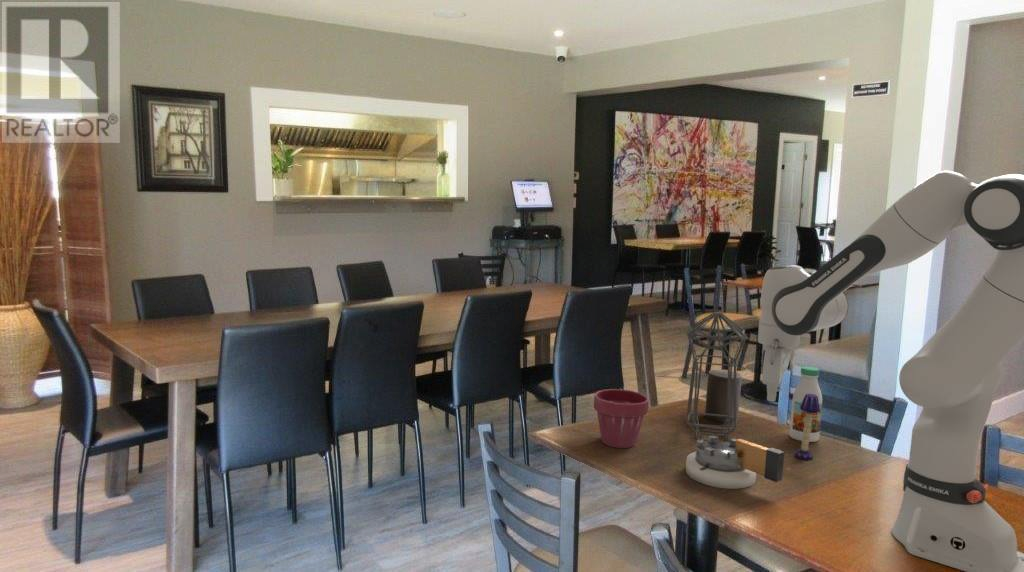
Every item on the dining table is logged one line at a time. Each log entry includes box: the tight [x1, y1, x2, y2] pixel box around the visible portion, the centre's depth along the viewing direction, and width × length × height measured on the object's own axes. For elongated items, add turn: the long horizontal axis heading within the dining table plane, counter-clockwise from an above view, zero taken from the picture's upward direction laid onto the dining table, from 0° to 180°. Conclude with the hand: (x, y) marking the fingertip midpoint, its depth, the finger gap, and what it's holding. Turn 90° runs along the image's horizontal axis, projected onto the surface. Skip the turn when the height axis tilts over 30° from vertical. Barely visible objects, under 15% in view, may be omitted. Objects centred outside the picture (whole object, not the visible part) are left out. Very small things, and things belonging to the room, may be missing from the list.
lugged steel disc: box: [695, 435, 785, 483], centre depth 162 cm, size 21×12×7 cm, turn 39°
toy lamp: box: [794, 394, 820, 461], centre depth 178 cm, size 5×5×17 cm
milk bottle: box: [789, 366, 823, 443], centre depth 193 cm, size 8×8×20 cm
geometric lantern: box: [685, 311, 749, 442], centre depth 191 cm, size 16×16×35 cm
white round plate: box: [685, 451, 757, 490], centre depth 166 cm, size 16×16×3 cm
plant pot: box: [593, 388, 649, 449], centre depth 185 cm, size 14×14×13 cm
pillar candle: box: [704, 368, 743, 423], centre depth 209 cm, size 10×10×15 cm
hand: (773, 395), depth 159 cm, fingers open, 8 cm apart
